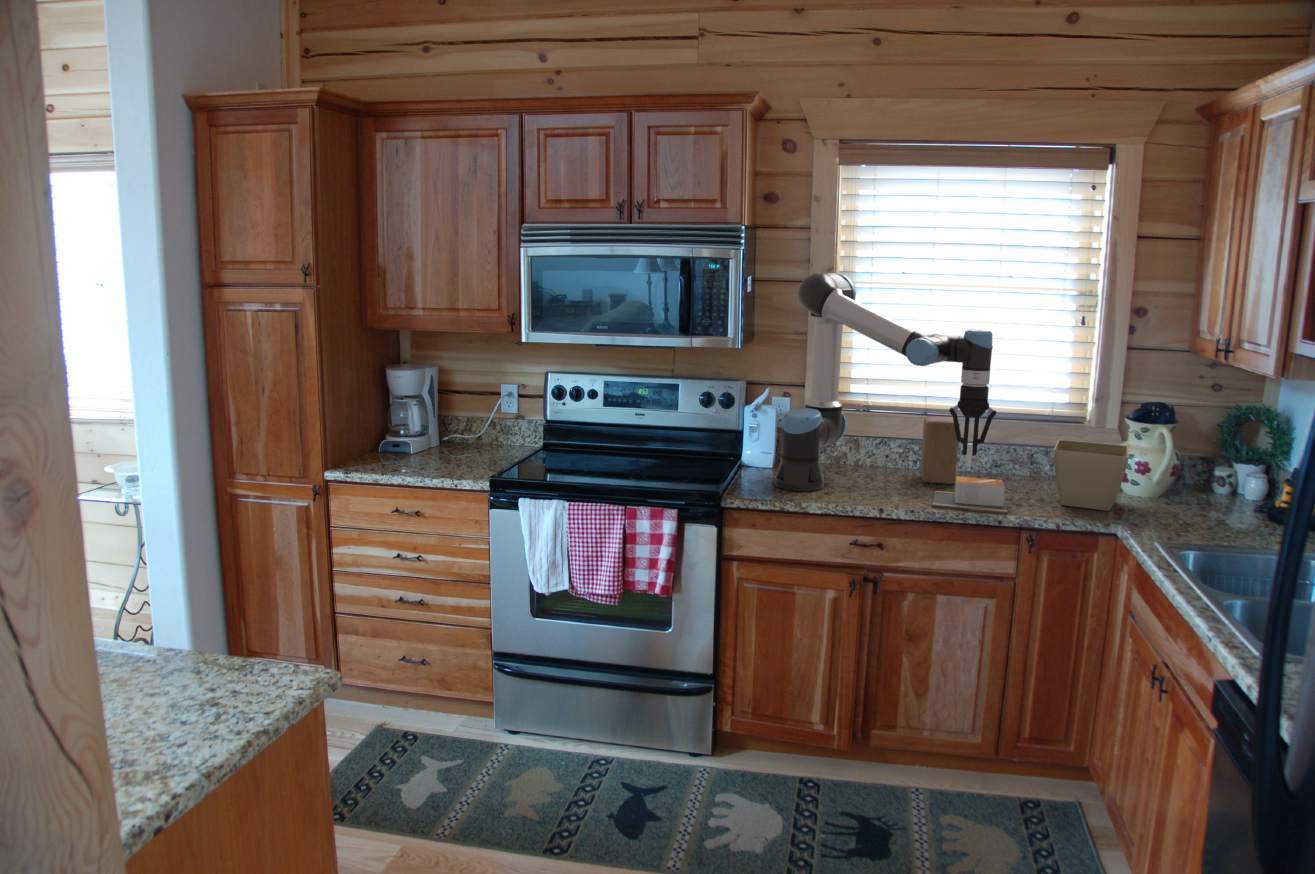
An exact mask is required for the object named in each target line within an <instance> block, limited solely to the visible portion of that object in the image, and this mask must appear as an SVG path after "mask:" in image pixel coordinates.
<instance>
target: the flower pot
mask: <svg viewBox="0 0 1315 874" xmlns="http://www.w3.org/2000/svg"><path fill="white" fill-rule="evenodd" d="M1129 449H1130V446H1129V445H1122V444H1114V443H1102V442H1100V443H1099V442H1095V441H1094V442H1092V441H1091V442H1090V441H1080V440H1079V441H1078V440H1068V439H1058V440H1057V441H1056V444H1055V446H1054V448H1053V463H1054V474H1055V481H1056V487H1057V493H1058V498H1059V501H1060V505H1062V506H1068V507H1075V508H1082V509H1090V510H1098V511H1108V512H1109V511H1110V510H1111V509H1112V507H1113V506H1114V503H1115V501H1116V498H1117V497H1118V494H1119V491H1120V489H1121V486H1122V483H1123V480H1124V476H1125V473H1126V470H1127V467H1128V462H1129V460H1130V459H1129V458H1130V454H1129V453H1130V452H1129V451H1130V450H1129Z"/></svg>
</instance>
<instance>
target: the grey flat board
mask: <svg viewBox="0 0 1315 874" xmlns="http://www.w3.org/2000/svg"><path fill="white" fill-rule="evenodd" d="M954 494H955V492H952V491H951V492H950V491H943V490H942V491H941V490H935V491H934V494H933V500H932V504H931V507H932V508H938V509H945V510H946V509H948V510H957V511H959V510H960V511H967V510H968V511H967V512H970V511H971V512H977V513H978V512H979V513H990V514H999V515H1008V505H1007V500H1006V499H1007V497H1005V496H1004V502H1003V507H996V506H984V505H972V504H959V503H955V497H954Z"/></svg>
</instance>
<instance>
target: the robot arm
mask: <svg viewBox="0 0 1315 874" xmlns="http://www.w3.org/2000/svg"><path fill="white" fill-rule="evenodd" d="M797 291H798V292H797V296H798V297H797V298H798V300H799V303H800V304H801V306H802V307H803V308H804V309H805V310H806V311H808V312H809V313H810V318H811V319H812V320H813V323H814V333H813V350H812V351H813V352H812V369H811V386H810V398H809V399H808V400H807V401H805V404H804V407H801V408H792V409H790V410H788V411H786V412H785V413H784V414H783V417H782V423H781V457H780V463H779V465H778V468H777V469H776V474H775V476H774V486H775V487H777V488H779V489H782V490H787V491H793V492H815V491H820V490H822V489H824V487H825V479H824V474H823V471H822V467H821V464H820V454H821V452H820V451H821V448H823V447H827V446H831V445H833V444H835V443H836V442H839V441H840V440H841V439H842V438H844V435H845V434H846V432H847V427H848V422H847V418H846V415H845V414H844V412H843V403H842V402H841V401H840V400H839V393H840V391H839V389H840V376H841V359H842V358H841V357H842V345H843V344H842V341H843V329H844V328H843V327H844V326H845V327H847V328H849V329H850V330H853V331H855V332H857V333H859V334H861V335H862V336H865V337H867V338H869V339H871V340H873V341H875V342H876V343H879V344H880V345H883V346H884V347H887V348H889V349H890V350H892V351H894V352H897V353H898V354H900V355H903V356H904V357H905V358H906V359H907V360H908V361H909V363H910V364H912V365H914V366H917V367H918V366H919V367H926V366H929V365H933V364H937V363H941V362H944V363H945V362H948V363H949V362H950V363H962V364H961V377H960V379H961V381H960V382H961V385H960V389H959V390H960V391H959V400H958V401H957V404H956V405H954V406H951V407H950V408H949V410H948V411H949V413H950V415H951V417H953V421H954V427H955V432H956V438H957V441H958V443H962V455H963V456H966V458H965V468H972V459H973V456H977V452H978V445H979V444H984V443H985V440H986V437H987V435H988V432H989V428H990V426H991V423H992V420H993V418H994V417H995V416H996V415H997V409H993V407H990V403H989V389H990V388H989V386H988V385H990V377H991V363H992V355H993V354H992V353H993V332H992V330H991V331H990V330H987V329H973V328H972V329H966V330H965V331H964V334H963V335H950V334H949V335H946V334H939V333H933V334H923V333H922V332H919V331H917V330H916V329H914V328H911V327H909V326H907V325H905V324H903V323H901V322H899V321H897V320H895V319H893V318H891V317H890V316H889V317H888V316H887V315H885V314H883V313H881V312H879V311H877V310H875V309H872V308H871V307H869V306H866V305H864V304H863V303H860V302H859V301H856V297H857V290H856V287H855V284H854V283H853V281H852V280H851V279H850V277H848V276H846V275H845V274H842V273H836V272H828V273H827V272H825V273H822V272H821V273H818V272H816V273H812V274H810V275H808V276H806V277H805V278H804V279H803V280H802V281H801V283H800V285H799V288H798V290H797ZM843 325H844V326H843ZM959 410H960V412H961V413H962V415H963V416H964V427H963V429H964V430H963V437H962V434H961V428H960V427H959V425H960V422H959V418H958V413H959ZM985 413H986V414H987V417H986V419H985V424H984V426H983V429H982V431H981V435H980V438H978V437H979V428H980V427H979V424H980V418H981V417H982V416H983V415H984V414H985ZM970 418H974V424H973V425H974V426H973V435H972V443H971V442H969V431H970V429H969V428H970Z"/></svg>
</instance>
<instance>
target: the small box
mask: <svg viewBox="0 0 1315 874" xmlns="http://www.w3.org/2000/svg"><path fill="white" fill-rule="evenodd" d="M954 484H955V485H954V486H955V487H954V493H955V494H954V497H955V503H959V504H972V505H984V506H996V507H1003V502H1004V497H1005V489H1006V487H1005V483H1004V480H1003V479H993V478H983V477H982V478H980V477H969V476H956V477H955V482H954Z"/></svg>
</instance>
